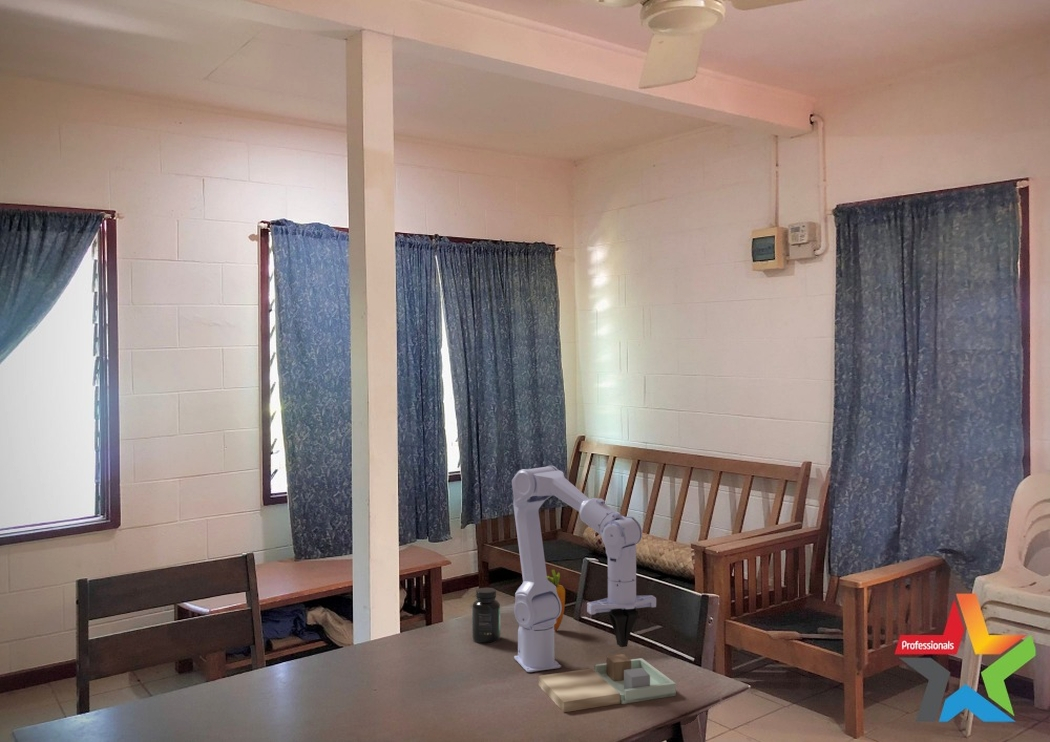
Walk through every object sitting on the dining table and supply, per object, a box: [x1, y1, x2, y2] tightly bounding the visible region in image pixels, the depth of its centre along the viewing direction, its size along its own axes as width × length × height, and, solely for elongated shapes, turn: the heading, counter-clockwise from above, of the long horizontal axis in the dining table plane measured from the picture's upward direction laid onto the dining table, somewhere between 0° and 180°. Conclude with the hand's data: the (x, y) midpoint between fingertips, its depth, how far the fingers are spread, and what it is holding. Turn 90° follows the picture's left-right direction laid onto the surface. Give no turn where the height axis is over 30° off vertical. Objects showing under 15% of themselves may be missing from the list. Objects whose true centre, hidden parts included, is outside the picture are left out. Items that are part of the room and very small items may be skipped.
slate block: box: [624, 668, 650, 689], centre depth 172 cm, size 4×4×4 cm
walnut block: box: [605, 653, 632, 681], centre depth 180 cm, size 4×4×4 cm
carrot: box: [547, 569, 566, 632], centre depth 211 cm, size 5×5×15 cm
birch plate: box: [538, 668, 621, 713], centre depth 172 cm, size 14×12×2 cm
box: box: [594, 657, 677, 705], centre depth 176 cm, size 15×12×2 cm
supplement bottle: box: [471, 587, 502, 645], centre depth 205 cm, size 7×7×12 cm
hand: (622, 645), depth 171 cm, fingers closed
